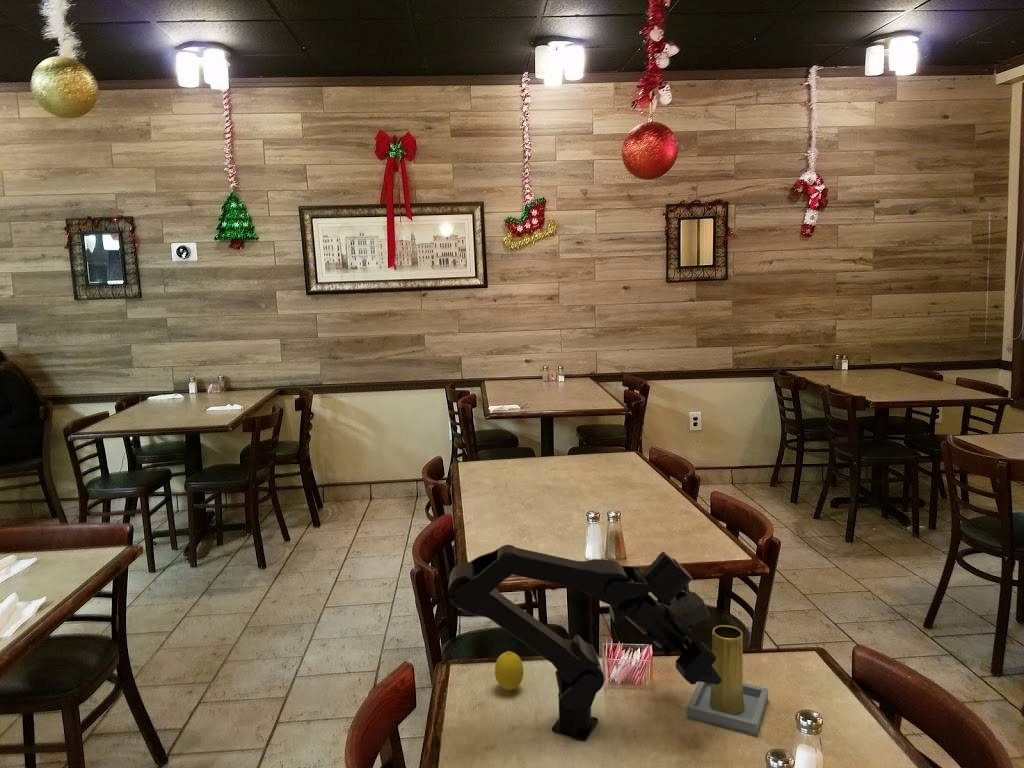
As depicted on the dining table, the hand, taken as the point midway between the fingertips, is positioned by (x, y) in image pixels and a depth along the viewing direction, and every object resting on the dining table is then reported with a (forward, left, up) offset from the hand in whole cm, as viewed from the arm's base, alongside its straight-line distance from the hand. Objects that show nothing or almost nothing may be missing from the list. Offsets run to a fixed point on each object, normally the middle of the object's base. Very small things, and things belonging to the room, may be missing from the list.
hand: (707, 668), depth 126 cm
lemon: (-9, +36, -9) cm, 38 cm away
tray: (+3, -3, -8) cm, 9 cm away
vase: (+3, -3, -8) cm, 9 cm away
